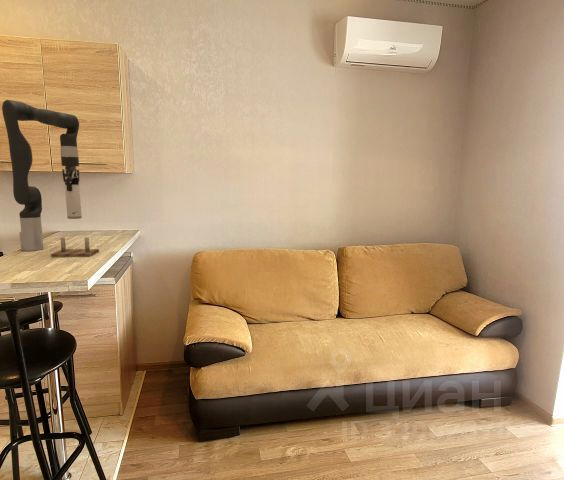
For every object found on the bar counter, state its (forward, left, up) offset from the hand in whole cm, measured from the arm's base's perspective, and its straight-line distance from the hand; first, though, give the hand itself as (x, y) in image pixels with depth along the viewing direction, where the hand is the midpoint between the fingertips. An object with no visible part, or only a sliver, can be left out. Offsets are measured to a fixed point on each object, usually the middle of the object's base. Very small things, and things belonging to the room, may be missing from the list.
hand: (72, 190), depth 184 cm
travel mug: (0, 0, -14) cm, 14 cm away
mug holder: (0, -1, -32) cm, 32 cm away
